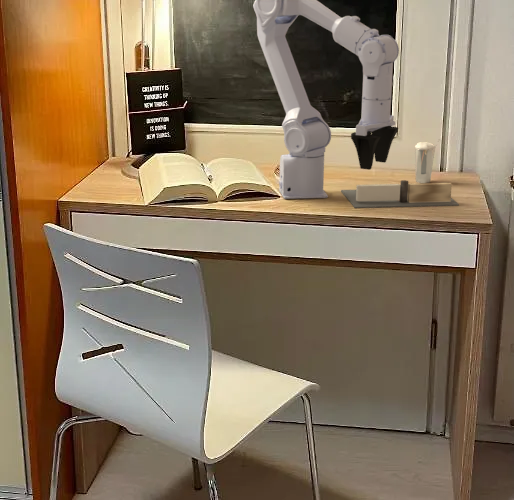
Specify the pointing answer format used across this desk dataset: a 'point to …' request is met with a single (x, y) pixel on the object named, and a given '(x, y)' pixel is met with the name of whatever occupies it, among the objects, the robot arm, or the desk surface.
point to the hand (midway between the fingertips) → (373, 165)
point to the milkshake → (424, 161)
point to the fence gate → (378, 192)
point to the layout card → (391, 202)
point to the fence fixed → (425, 192)
